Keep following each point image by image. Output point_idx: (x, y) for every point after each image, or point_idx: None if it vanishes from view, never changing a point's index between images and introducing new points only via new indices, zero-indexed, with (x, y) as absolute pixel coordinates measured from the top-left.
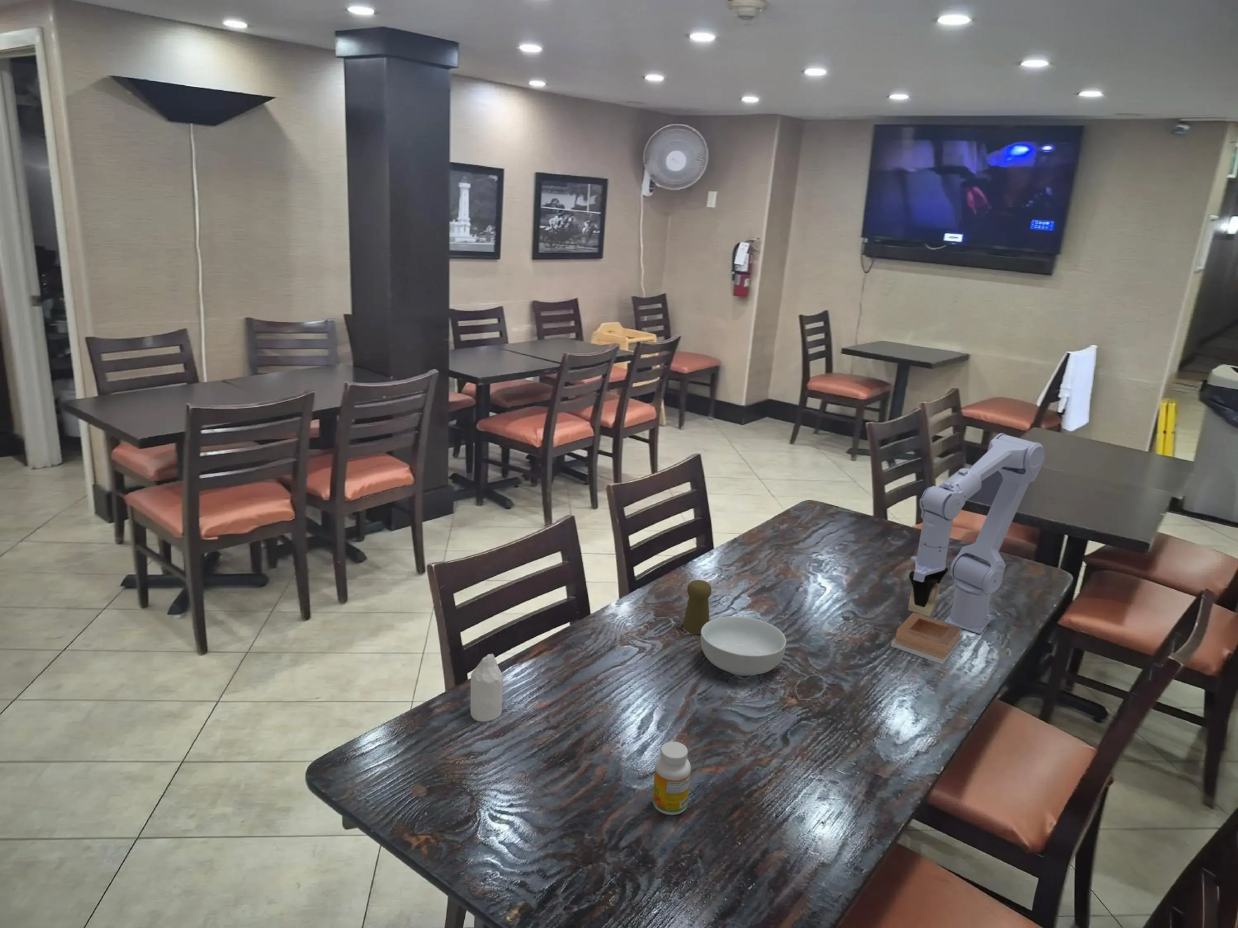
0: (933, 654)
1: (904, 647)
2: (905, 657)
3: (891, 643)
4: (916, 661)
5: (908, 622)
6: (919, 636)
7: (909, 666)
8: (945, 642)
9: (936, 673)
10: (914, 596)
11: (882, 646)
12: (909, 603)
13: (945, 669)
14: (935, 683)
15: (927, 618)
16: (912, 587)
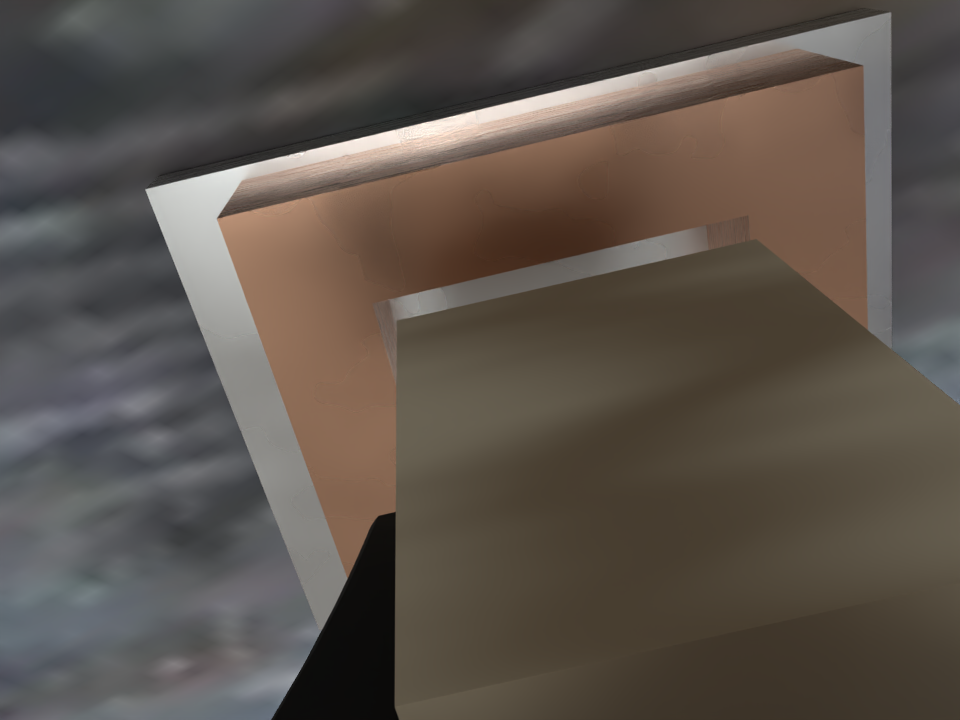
0: (327, 543)
1: (203, 322)
2: (115, 384)
3: (150, 188)
4: (153, 472)
5: (524, 196)
6: (307, 465)
7: (16, 487)
8: None
9: (147, 643)
10: (331, 622)
11: (66, 123)
12: (397, 385)
13: (270, 644)
14: (11, 706)
15: (821, 276)
16: (404, 642)
